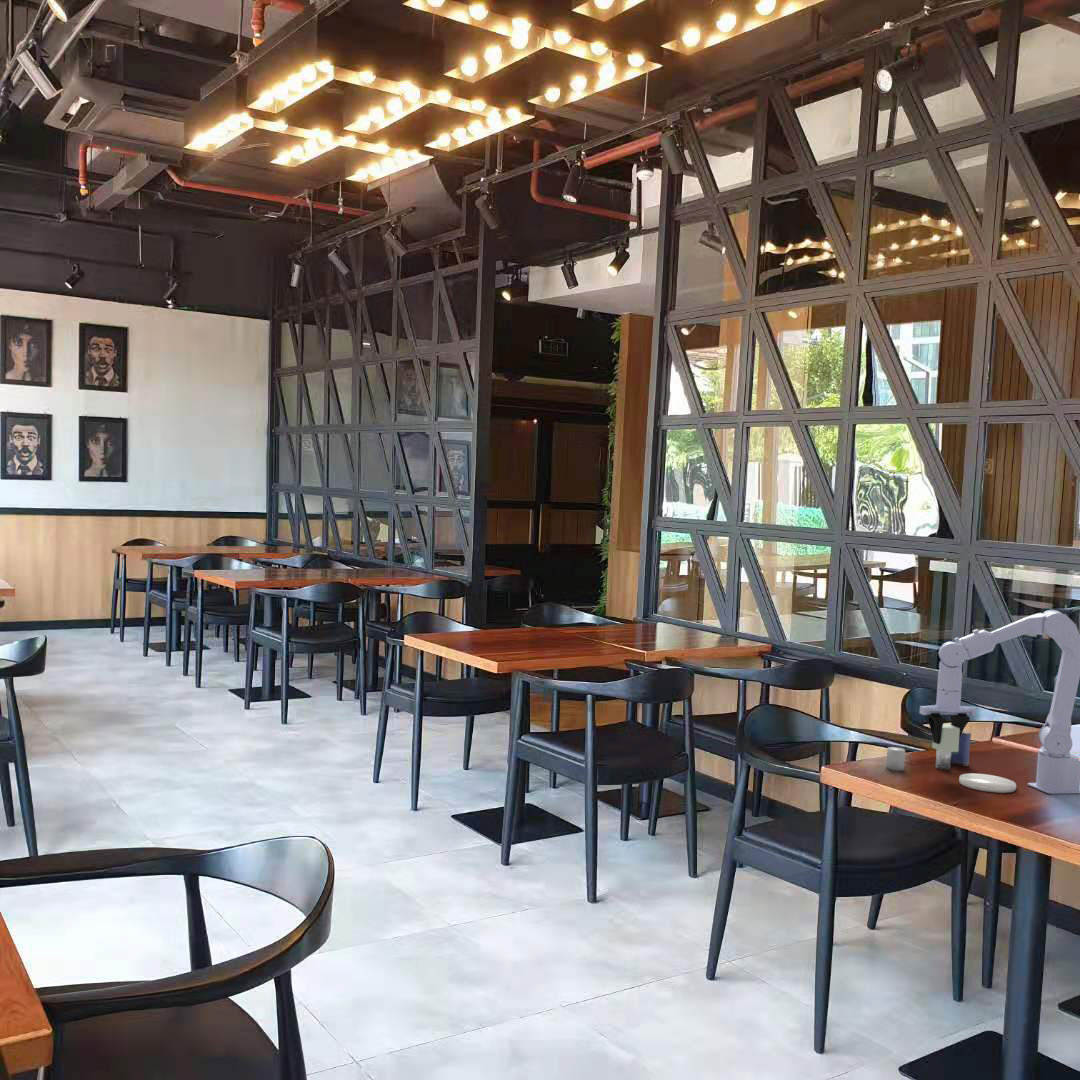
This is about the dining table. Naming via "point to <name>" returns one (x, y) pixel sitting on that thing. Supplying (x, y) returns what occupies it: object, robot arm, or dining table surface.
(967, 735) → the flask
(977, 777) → the plate
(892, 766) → the white rounded domed part
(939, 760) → the salt shaker
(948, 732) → the sage block
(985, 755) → the dining table surface
